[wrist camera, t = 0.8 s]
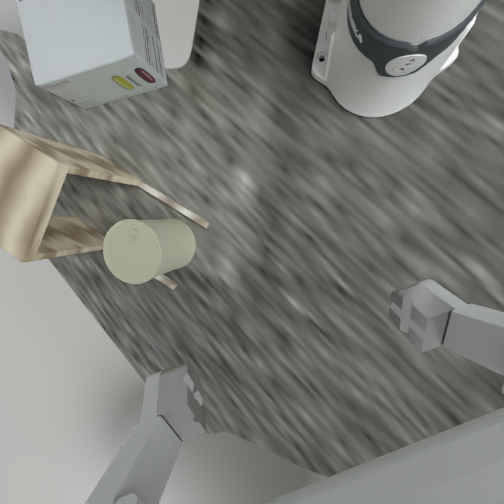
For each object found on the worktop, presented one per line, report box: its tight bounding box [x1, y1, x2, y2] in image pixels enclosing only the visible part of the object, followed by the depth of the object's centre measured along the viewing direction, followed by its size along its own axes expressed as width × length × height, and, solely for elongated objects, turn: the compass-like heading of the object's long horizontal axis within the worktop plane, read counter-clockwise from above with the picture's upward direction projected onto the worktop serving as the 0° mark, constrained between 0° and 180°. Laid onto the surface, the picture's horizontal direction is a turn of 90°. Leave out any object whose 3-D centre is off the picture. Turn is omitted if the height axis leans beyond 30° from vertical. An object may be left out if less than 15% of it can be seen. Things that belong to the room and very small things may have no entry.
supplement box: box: [16, 0, 167, 109], centre depth 40 cm, size 17×13×9 cm
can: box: [103, 218, 196, 284], centre depth 41 cm, size 9×9×12 cm
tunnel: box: [0, 125, 211, 290], centre depth 40 cm, size 24×14×16 cm, turn 60°
